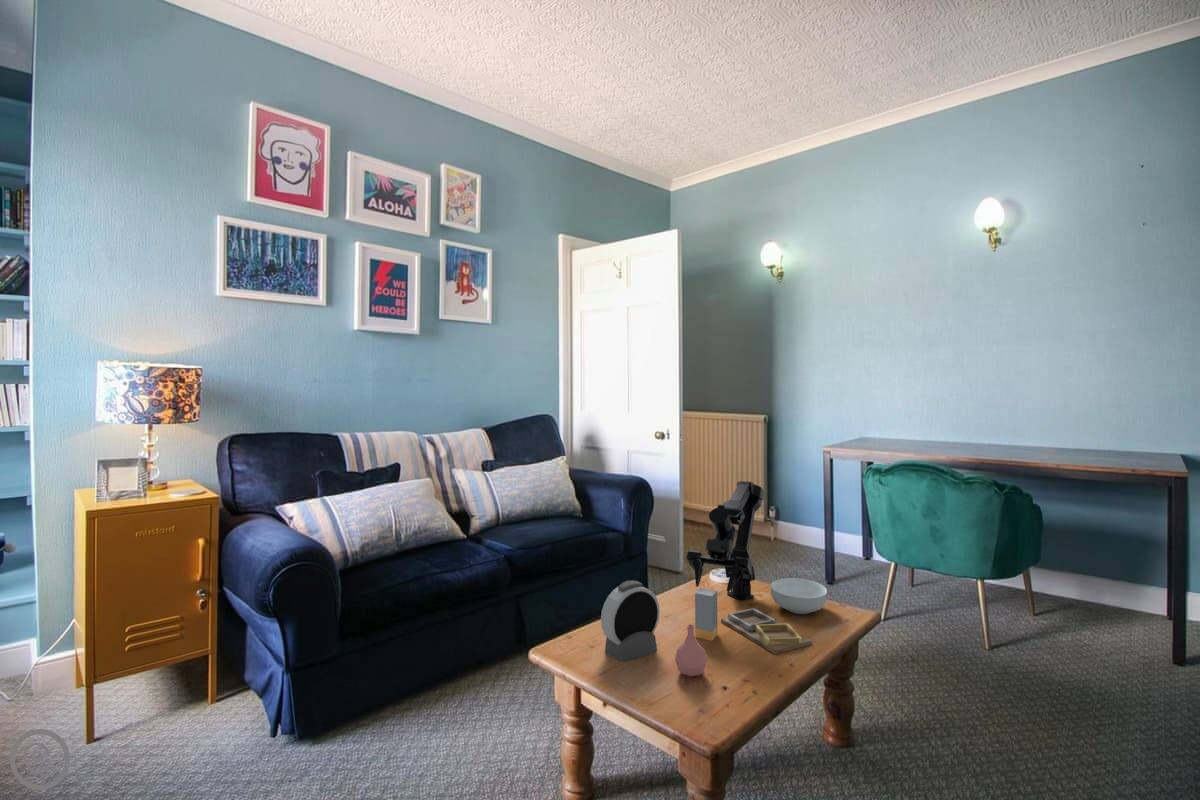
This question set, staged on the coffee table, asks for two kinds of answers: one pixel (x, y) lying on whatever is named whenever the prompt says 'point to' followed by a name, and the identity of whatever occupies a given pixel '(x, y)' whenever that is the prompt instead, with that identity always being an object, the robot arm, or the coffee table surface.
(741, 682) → the coffee table surface
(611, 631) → the alarm clock
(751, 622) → the station board
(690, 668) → the pink vase
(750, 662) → the coffee table surface
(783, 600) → the cereal bowl
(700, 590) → the grey square pillar
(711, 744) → the coffee table surface
